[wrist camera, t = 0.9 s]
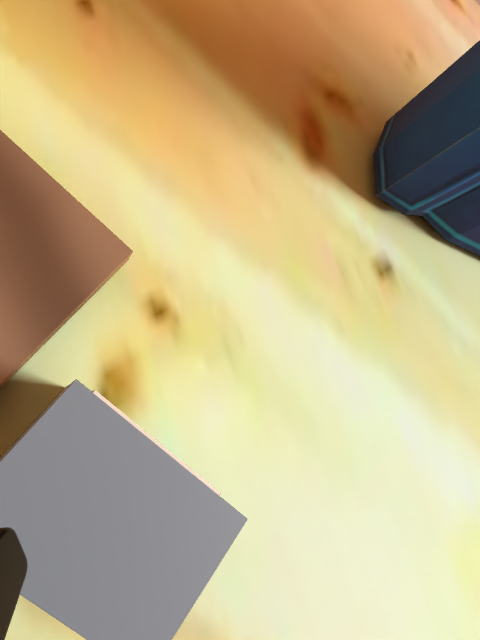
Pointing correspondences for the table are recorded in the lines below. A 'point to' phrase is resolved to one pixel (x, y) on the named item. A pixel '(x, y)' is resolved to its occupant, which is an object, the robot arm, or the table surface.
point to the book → (437, 154)
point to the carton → (110, 521)
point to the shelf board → (44, 257)
